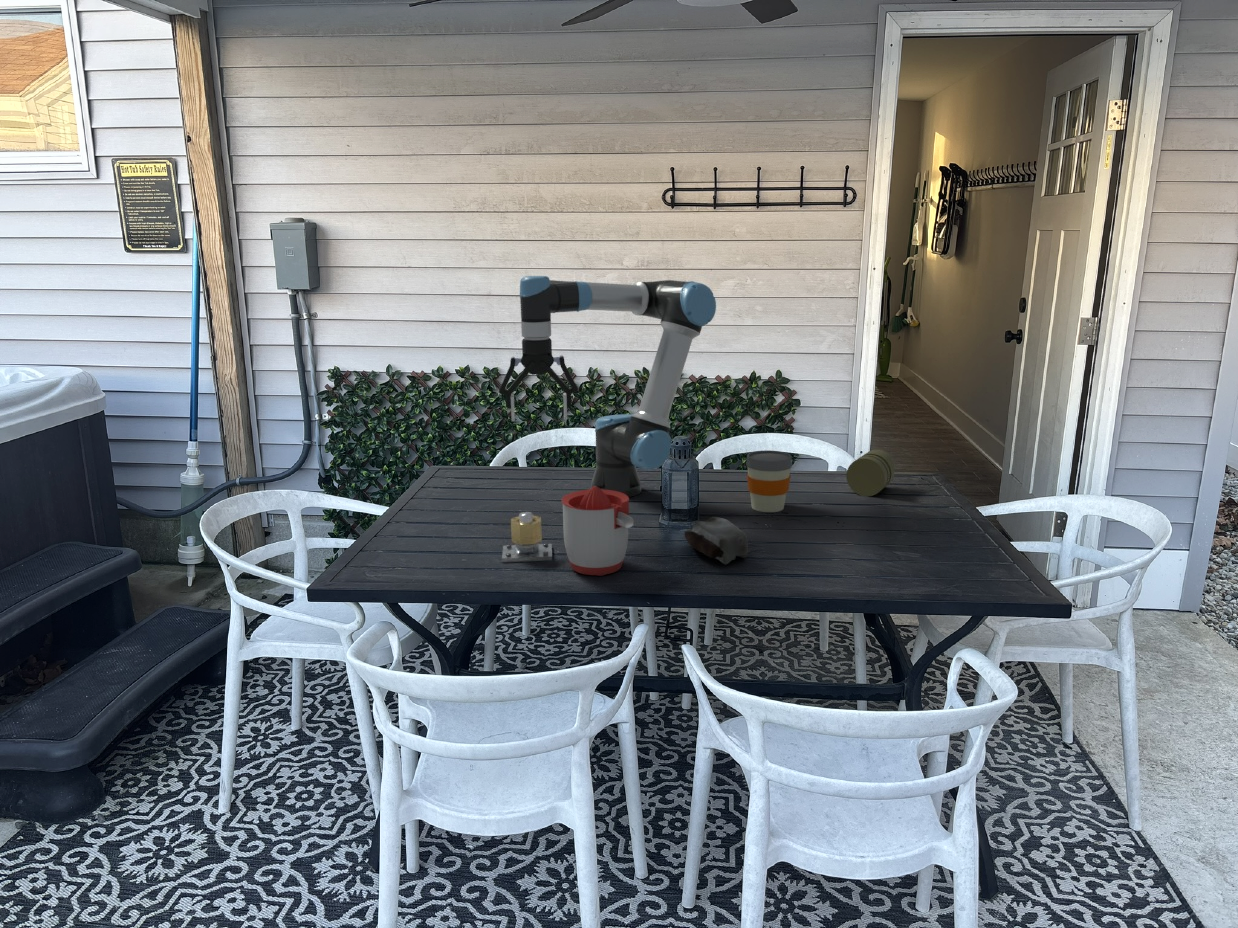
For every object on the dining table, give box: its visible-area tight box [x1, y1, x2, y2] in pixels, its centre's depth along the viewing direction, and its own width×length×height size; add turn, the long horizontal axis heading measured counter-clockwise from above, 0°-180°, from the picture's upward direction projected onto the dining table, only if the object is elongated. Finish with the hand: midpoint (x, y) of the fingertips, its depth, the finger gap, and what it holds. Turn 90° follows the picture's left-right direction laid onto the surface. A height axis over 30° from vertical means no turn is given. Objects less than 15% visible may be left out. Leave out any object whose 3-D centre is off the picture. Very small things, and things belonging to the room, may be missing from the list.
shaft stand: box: [501, 511, 553, 563], centre depth 226 cm, size 12×9×10 cm
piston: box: [845, 449, 896, 497], centre depth 275 cm, size 11×12×11 cm
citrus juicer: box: [560, 486, 635, 577], centre depth 216 cm, size 16×17×20 cm
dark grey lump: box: [683, 516, 749, 565], centre depth 225 cm, size 18×11×8 cm, turn 21°
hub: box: [510, 514, 543, 545], centre depth 226 cm, size 7×7×5 cm
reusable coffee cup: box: [745, 450, 793, 513], centre depth 260 cm, size 13×13×15 cm
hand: (539, 419), depth 243 cm, fingers open, 13 cm apart
